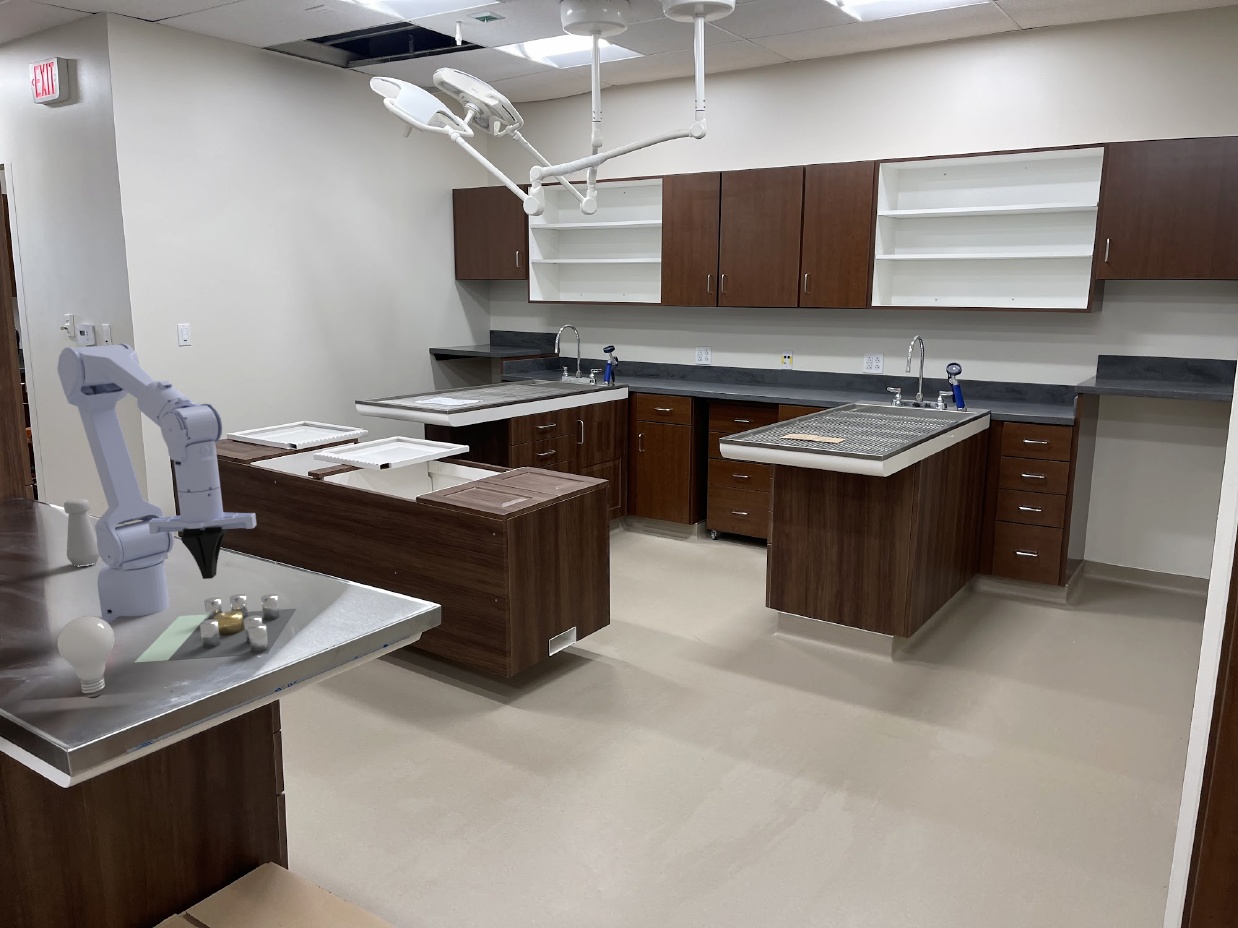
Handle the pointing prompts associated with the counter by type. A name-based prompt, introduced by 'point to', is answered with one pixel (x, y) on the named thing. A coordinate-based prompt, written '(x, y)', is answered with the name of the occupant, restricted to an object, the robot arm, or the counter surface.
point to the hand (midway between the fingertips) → (209, 576)
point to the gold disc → (230, 622)
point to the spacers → (253, 624)
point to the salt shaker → (80, 533)
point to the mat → (187, 640)
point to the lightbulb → (87, 650)
